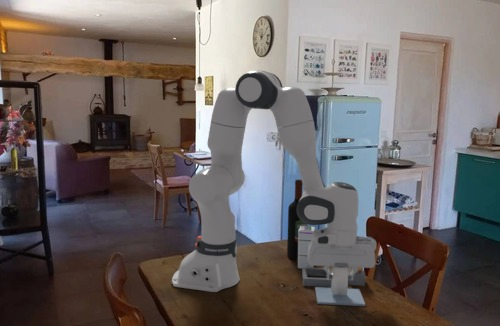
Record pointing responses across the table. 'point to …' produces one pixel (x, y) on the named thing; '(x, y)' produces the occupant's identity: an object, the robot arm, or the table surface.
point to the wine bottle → (294, 223)
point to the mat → (339, 297)
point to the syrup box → (304, 245)
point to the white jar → (339, 279)
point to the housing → (324, 282)
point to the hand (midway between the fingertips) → (339, 279)
